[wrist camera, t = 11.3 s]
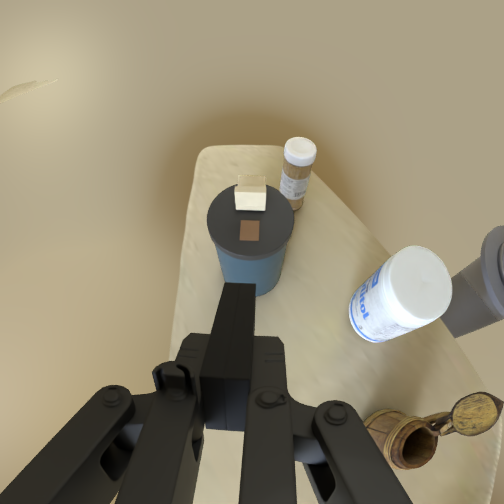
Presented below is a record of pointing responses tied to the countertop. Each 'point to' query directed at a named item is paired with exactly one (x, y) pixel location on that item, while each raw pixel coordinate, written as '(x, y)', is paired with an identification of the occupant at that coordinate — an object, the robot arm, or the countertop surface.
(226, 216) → the tumbler
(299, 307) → the countertop surface
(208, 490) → the countertop surface
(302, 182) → the sprinkles bottle
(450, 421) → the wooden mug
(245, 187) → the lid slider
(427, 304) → the supplement tub
